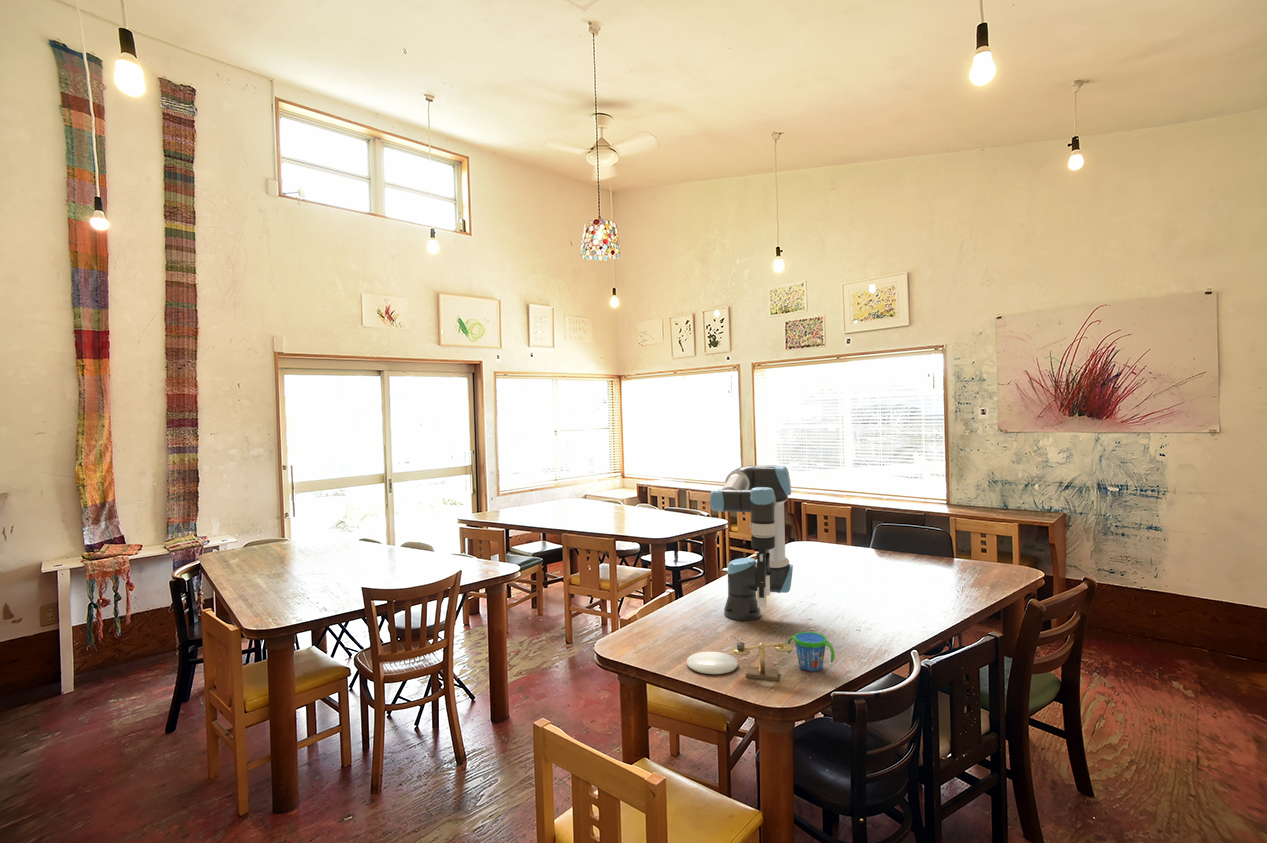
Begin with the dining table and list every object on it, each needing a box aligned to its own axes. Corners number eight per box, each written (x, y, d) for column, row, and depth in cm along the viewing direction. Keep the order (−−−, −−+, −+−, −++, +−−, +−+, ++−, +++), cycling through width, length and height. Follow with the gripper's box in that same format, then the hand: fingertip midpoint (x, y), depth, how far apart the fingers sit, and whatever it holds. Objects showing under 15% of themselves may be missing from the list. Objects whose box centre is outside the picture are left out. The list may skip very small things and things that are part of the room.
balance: (733, 668, 201) (732, 634, 201) (793, 674, 196) (793, 640, 196) (730, 675, 196) (730, 641, 196) (793, 682, 190) (792, 647, 190)
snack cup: (781, 666, 202) (781, 636, 202) (796, 656, 210) (796, 627, 210) (825, 679, 192) (825, 647, 192) (840, 669, 199) (839, 638, 199)
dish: (692, 652, 215) (692, 649, 215) (740, 657, 210) (740, 654, 210) (682, 672, 199) (682, 668, 199) (734, 678, 194) (734, 674, 194)
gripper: (755, 528, 209) (756, 589, 209) (746, 542, 185) (747, 611, 185) (777, 528, 206) (778, 590, 207) (771, 543, 183) (772, 613, 183)
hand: (763, 601), depth 196 cm, fingers open, 13 cm apart
